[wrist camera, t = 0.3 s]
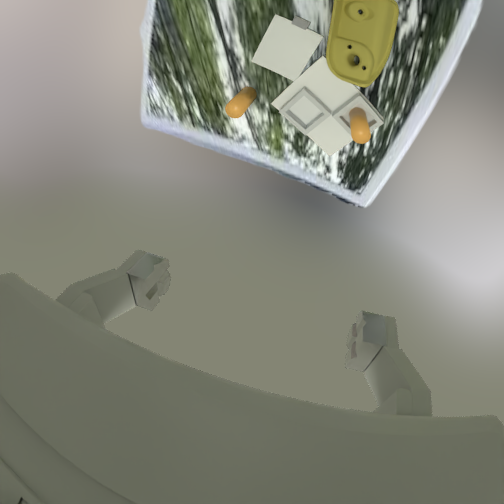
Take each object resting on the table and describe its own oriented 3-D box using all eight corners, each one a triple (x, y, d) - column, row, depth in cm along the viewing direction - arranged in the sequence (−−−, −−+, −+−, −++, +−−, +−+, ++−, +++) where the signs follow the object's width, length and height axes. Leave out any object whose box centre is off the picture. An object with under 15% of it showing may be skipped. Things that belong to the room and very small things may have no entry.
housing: (323, 54, 41) (321, 64, 35) (382, 117, 48) (390, 139, 41) (271, 102, 53) (259, 121, 46) (329, 154, 59) (327, 181, 53)
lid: (279, 8, 35) (278, 8, 35) (327, 30, 37) (327, 31, 36) (252, 60, 46) (251, 61, 45) (296, 81, 47) (295, 82, 47)
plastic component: (336, -16, 27) (391, -5, 23) (351, -7, 31) (400, 4, 27) (321, 73, 42) (370, 91, 38) (337, 73, 46) (381, 89, 42)
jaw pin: (247, 83, 50) (232, 98, 44) (259, 93, 52) (247, 109, 46) (237, 94, 53) (221, 110, 47) (250, 104, 54) (236, 121, 48)
